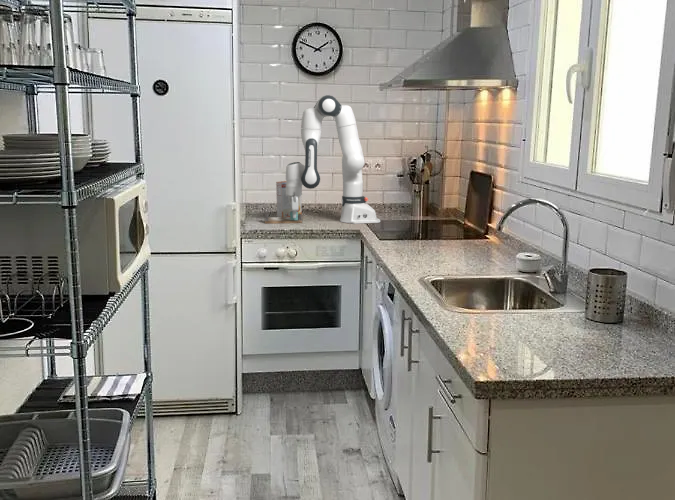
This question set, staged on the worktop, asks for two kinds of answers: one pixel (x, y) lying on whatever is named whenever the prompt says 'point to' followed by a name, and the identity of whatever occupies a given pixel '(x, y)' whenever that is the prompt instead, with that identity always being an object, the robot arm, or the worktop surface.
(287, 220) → the track
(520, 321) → the worktop surface
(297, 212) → the teal slider block
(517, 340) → the worktop surface
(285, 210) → the cracker box
